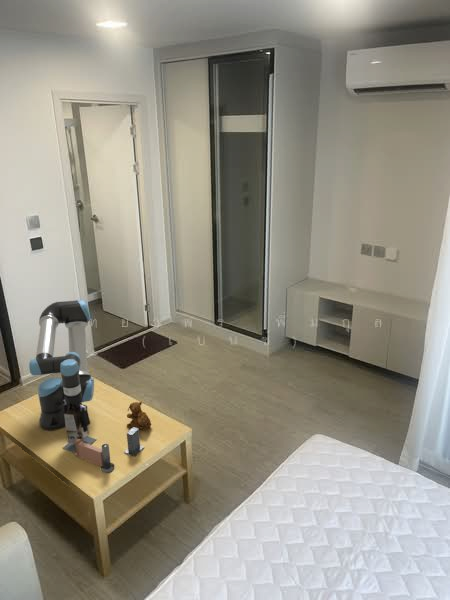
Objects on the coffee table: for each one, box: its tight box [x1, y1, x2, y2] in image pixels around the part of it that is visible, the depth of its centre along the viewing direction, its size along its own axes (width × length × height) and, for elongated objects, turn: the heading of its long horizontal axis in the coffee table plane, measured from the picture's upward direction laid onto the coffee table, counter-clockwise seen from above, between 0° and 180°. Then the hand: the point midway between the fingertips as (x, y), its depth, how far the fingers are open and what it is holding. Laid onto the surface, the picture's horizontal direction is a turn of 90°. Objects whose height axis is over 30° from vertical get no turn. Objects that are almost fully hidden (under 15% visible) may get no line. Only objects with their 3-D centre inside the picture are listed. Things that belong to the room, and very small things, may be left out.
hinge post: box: [100, 443, 116, 474], centre depth 197 cm, size 6×6×12 cm
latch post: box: [124, 427, 145, 458], centre depth 209 cm, size 6×7×11 cm
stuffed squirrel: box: [126, 401, 153, 431], centre depth 226 cm, size 10×14×13 cm
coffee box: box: [64, 403, 90, 444], centre depth 210 cm, size 9×6×16 cm
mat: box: [62, 435, 97, 455], centre depth 215 cm, size 10×12×1 cm
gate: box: [74, 438, 104, 467], centre depth 201 cm, size 15×2×8 cm, turn 64°
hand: (78, 434), depth 213 cm, fingers closed on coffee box, 7 cm apart
